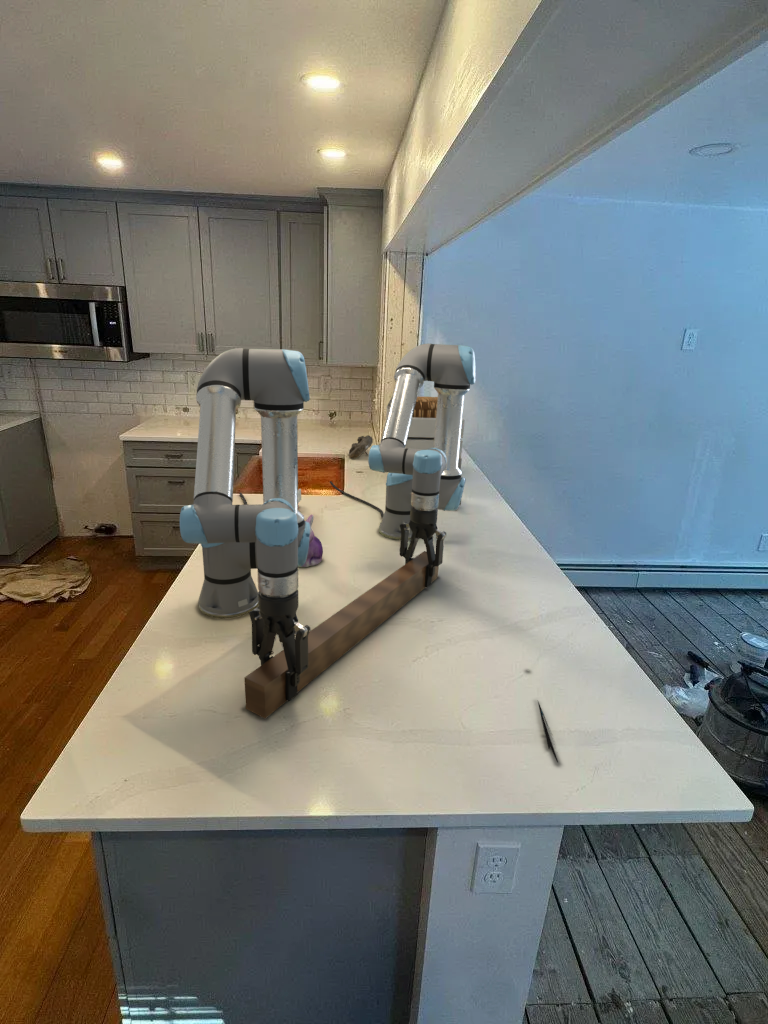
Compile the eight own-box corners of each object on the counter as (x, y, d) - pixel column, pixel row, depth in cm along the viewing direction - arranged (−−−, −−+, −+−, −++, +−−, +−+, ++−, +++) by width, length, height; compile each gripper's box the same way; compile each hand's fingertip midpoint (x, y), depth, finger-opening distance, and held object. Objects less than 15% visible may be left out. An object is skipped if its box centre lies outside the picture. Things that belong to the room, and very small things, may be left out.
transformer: (382, 463, 289) (386, 382, 275) (445, 464, 293) (451, 384, 279) (390, 482, 257) (394, 392, 243) (460, 483, 261) (468, 394, 247)
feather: (528, 675, 127) (534, 669, 126) (557, 767, 100) (564, 760, 99) (522, 671, 126) (527, 665, 126) (550, 762, 100) (557, 755, 99)
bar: (422, 573, 171) (424, 550, 168) (437, 577, 169) (439, 555, 166) (245, 708, 111) (244, 677, 108) (265, 718, 108) (264, 686, 106)
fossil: (348, 441, 313) (370, 426, 308) (359, 455, 316) (380, 440, 311) (342, 455, 293) (365, 439, 288) (353, 469, 296) (376, 454, 291)
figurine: (300, 570, 169) (299, 523, 164) (289, 557, 177) (288, 512, 172) (329, 565, 173) (330, 519, 168) (317, 552, 181) (317, 508, 176)
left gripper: (228, 583, 109) (234, 685, 117) (303, 612, 100) (303, 719, 108) (256, 570, 115) (259, 667, 123) (328, 595, 106) (327, 698, 114)
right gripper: (389, 503, 157) (385, 579, 165) (448, 517, 148) (441, 596, 156) (402, 496, 163) (398, 569, 171) (460, 510, 154) (453, 586, 162)
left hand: (280, 691), depth 115 cm, fingers closed on bar, 5 cm apart
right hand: (418, 582), depth 164 cm, fingers closed on bar, 5 cm apart
